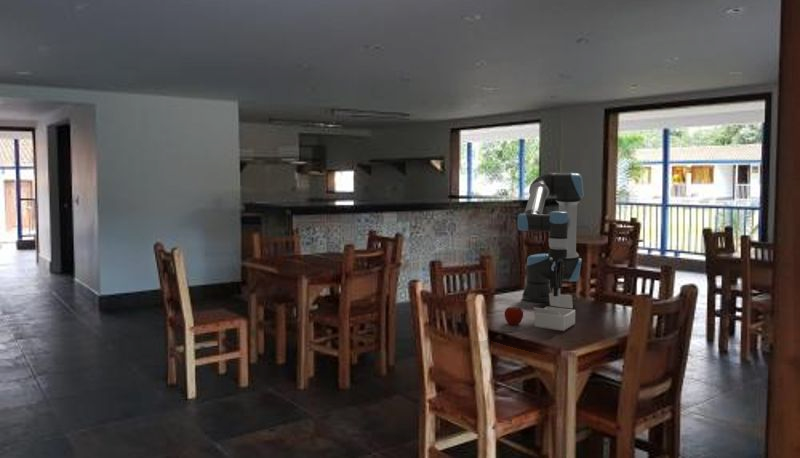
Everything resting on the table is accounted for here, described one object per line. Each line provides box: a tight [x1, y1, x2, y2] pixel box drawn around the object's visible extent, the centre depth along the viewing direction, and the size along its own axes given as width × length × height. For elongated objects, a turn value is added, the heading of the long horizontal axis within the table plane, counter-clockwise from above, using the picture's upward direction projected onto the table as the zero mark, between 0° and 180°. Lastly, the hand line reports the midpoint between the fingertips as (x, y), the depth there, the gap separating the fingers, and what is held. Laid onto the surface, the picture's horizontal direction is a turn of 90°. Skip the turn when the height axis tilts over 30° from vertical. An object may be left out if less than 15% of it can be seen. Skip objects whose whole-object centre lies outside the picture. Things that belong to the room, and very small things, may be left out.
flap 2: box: [549, 292, 574, 309], centre depth 272 cm, size 6×10×1 cm
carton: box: [534, 306, 576, 332], centre depth 267 cm, size 15×13×6 cm
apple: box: [504, 306, 524, 326], centre depth 268 cm, size 8×8×8 cm
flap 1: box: [532, 306, 561, 316], centre depth 258 cm, size 6×10×1 cm, turn 58°
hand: (556, 303), depth 267 cm, fingers closed
